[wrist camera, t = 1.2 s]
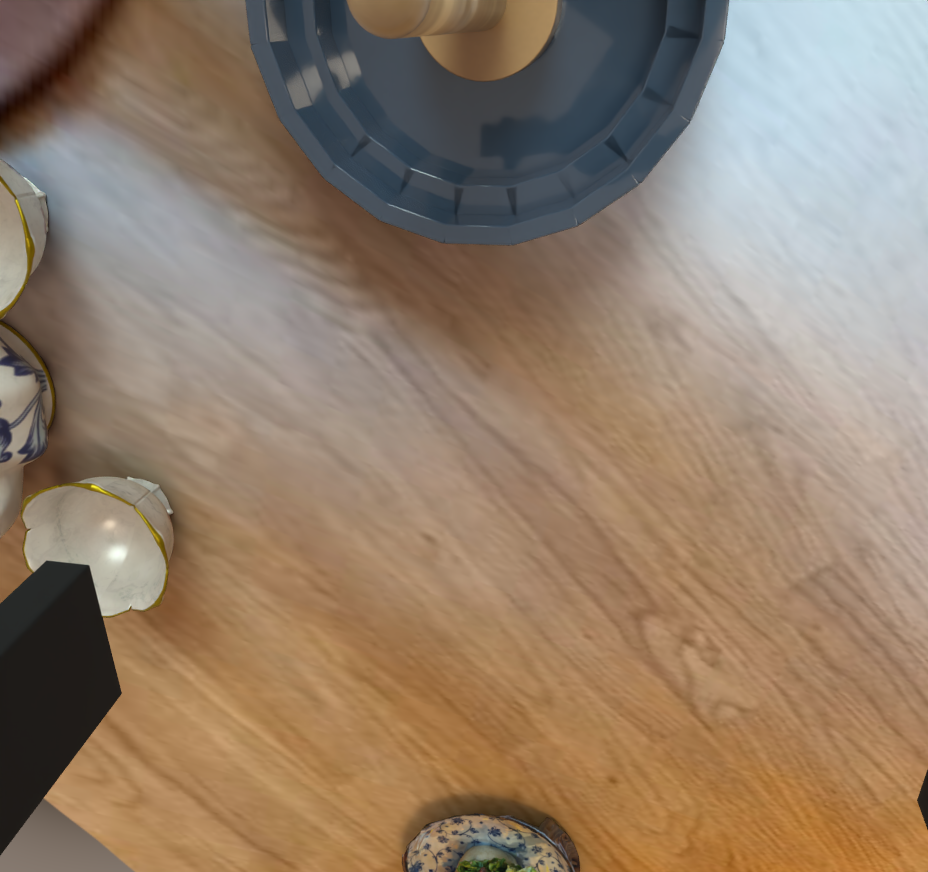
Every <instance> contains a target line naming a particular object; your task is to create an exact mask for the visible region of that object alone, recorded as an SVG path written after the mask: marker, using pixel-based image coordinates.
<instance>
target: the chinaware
mask: <svg viewBox="0 0 928 872" xmlns="http://www.w3.org/2000/svg"><path fill="white" fill-rule="evenodd" d="M45 198H46V195H45V193H44V192H41V191H40V190H39V189H38V188H37V187H36V186H35V185H34V184H33V183H31V182H30V181H29V180H27V179H26V178H24V177H23V176H21V175H20V174H19V173H18V172H17V171H16V170H15V169H14V168H12V167H11V166H10V165H9V164H7V163H6V162H4V161H3V160H1V159H0V320H1V319H2V318H4V317H5V316H6V314H7V312H8V311H9V310H10V309H11V308H12V307H13V306H14V305H15V303H16V302H17V300H18V299H19V297H20V295H21V294H22V292H23V290H24V288H25V285H26V284H27V282H28V280H29V277H30V275H31V274H32V273H33V272H34V270H35V269H36V268H37V266H38V265H39V263H40V261H41V258H42V255H43V252H44V248H45V244H46V232H48V230H49V229H48V226H47V224H48V211H47V205H46V201H45ZM55 405H56V401H55V391H54V387H53V383H52V380H51V377H50V374H49V372H48V370H47V368H46V366H45V364H44V362H43V361H42V359H41V358H40V356H39V355H38V353H37V352H36V351H35V349H34V348H33V347H32V346H31V345H30V343H29V342H28V341H27V340H26V339H25V338H24V337H22V336H21V335H20V334H19V333H18V332H17V331H15V330H14V329H13V328H11V327H10V326H8V325H7V324H5V323H3V322H2V321H0V538H1V537H2V536H3V535H4V534H5V533H6V532H7V531H8V530H9V529H10V527H11V526H12V525H13V523H14V522H15V520H16V518H17V516H18V514H19V511H20V508H21V502H22V493H23V473H24V465H26V464H28V463H30V462H32V461H34V460H36V459H37V458H39V457H40V456H42V455H43V454H44V452H45V451H46V449H47V446H48V429H49V428H50V426H51V424H52V421H53V418H54V414H55ZM171 514H173V511H172V510H171V508H170V506H169V503H168V501H167V498H166V497H165V495H164V494H163V492H162V491H161V489H160V486H159V485H158V484H153V483H150V482H148V481H145V480H142V479H135V478H131V477H127V479H124V478H119V477H94V478H89V479H85V480H82V481H80V482H73V483H66V484H61V485H56V486H53V487H50V488H46V489H43V490H40V491H38V492H36V493H34V494H33V495H29V496H27V497H26V498H25V499H24V501H23V505H22V510H21V519H22V521H23V523H24V525H25V528H27V529H29V528H30V529H29V530H27V531H26V532H25V538H24V542H23V548H22V550H23V555H24V558H25V561H26V566H27V568H28V569H29V570H30V571H31V572H32V573H34V572H35V571H36V570H37V569H38V568H39V567H40V566H41V565H42V564H43V563H44V562H45V561H46V560H47V561H56V562H66V563H75V564H84V565H89V566H90V570H91V574H92V578H93V582H94V586H95V590H96V594H97V597H98V601H99V605H100V609H101V613H102V617H106V618H109V617H114V616H117V615H120V614H122V613H125V612H128V611H130V609H131V607H132V610H136V611H143V612H145V611H148V610H150V609H152V608H155V607H158V606H159V605H160V604H161V603H162V601H163V599H164V594H165V591H166V587H167V580H168V569H169V565H168V563H169V561H170V557H171V554H172V550H173V545H174V534H173V527H172V523H171V520H170V517H169V516H170V515H171Z"/></svg>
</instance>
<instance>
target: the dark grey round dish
mask: <svg viewBox="0 0 928 872" xmlns="http://www.w3.org/2000/svg"><path fill="white" fill-rule="evenodd" d="M245 1H246V10H247V18H248V27H249V36H250V43H251V49H252V51H253V54H254V56H255V59H256V62H257V64H258V67H259V69H260V72H261V74H262V77H263V79H264V82H265V84H266V87H267V90H268V92H269V95H270V97H271V100H272V102H273V105H274V107H275V110H276V112H277V115H278V117H279V119H280V121H281V122H282V124H283V125H284V126H285V128H286V129H287V130H288V132H289V133H290V134H291V136H292V137H293V138H294V140H295V141H296V142H297V144H298V145H299V146H300V148H301V149H302V150H303V152H304V153H305V154H306V156H307V157H308V158H309V160H310V161H311V162H312V164H313V165H314V166H315V168H316V169H317V170H318V172H319V173H320V174H321V176H322V177H323V178H324V179H325V180H326V181H327V182H329V183H330V184H331V185H333V186H334V187H335V188H337V189H338V190H339V191H341V192H342V193H343V194H345V195H346V196H347V197H349V198H350V199H351V200H353V201H354V202H355V203H357V204H358V205H359V206H361V207H362V208H363V209H365V210H366V211H367V212H369V213H370V214H371V215H373V216H374V217H375V218H377V219H378V220H381V221H382V222H384V223H387V224H390V225H393V226H396V227H398V228H401V229H404V230H407V231H410V232H412V233H415V234H418V235H421V236H424V237H426V238H429V239H432V240H435V241H438V242H440V243H446V244H473V245H507V246H510V245H516V244H520V243H523V242H526V241H530V240H533V239H537V238H540V237H543V236H547V235H550V234H553V233H557V232H560V231H564V230H567V229H570V228H574V227H577V226H578V225H580V224H582V223H584V222H585V221H587V220H588V219H590V218H591V217H593V216H594V215H596V214H597V213H599V212H600V211H601V210H603V209H604V208H606V207H607V206H609V205H610V204H612V203H613V202H615V201H616V200H618V199H619V198H621V197H622V196H624V195H625V194H627V193H628V192H629V191H631V190H632V189H634V188H635V187H637V186H638V185H639V184H640V183H642V182H643V180H644V179H645V178H646V177H647V176H648V174H649V173H650V172H651V171H652V169H653V168H654V167H655V166H656V164H657V163H658V162H659V161H660V159H661V158H662V157H663V156H664V154H665V153H666V152H667V151H668V150H669V148H670V147H671V146H672V145H673V143H674V142H675V141H676V140H677V138H678V137H679V136H680V135H681V133H682V132H683V131H684V130H685V128H686V127H687V126H688V125H689V124H690V121H691V120H692V118H693V116H694V114H695V111H696V109H697V106H698V104H699V102H700V99H701V97H702V94H703V92H704V90H705V87H706V85H707V82H708V80H709V78H710V75H711V73H712V70H713V68H714V66H715V63H716V61H717V58H718V56H719V54H720V51H721V49H722V46H723V44H724V40H725V34H726V25H727V16H728V7H729V0H562V10H561V16H560V21H559V24H558V27H557V30H556V32H555V35H554V37H553V39H552V41H551V42H550V44H549V46H548V47H547V49H546V50H545V51H544V52H543V54H542V55H541V56H540V57H539V58H538V59H537V60H536V61H535V62H534V63H532V64H531V65H530V66H528V67H527V68H525V69H524V70H522V71H520V72H518V73H516V74H514V75H512V76H509V77H507V78H504V79H501V80H496V81H488V82H480V81H472V80H467V79H464V78H461V77H459V76H456V75H455V74H453V73H451V72H449V71H448V70H446V69H445V68H443V67H442V66H441V65H440V64H439V63H438V62H437V61H436V60H435V59H434V58H433V57H432V56H431V55H430V53H429V52H428V51H427V49H426V48H425V46H424V44H423V43H422V41H421V38H420V37H409V38H397V39H385V38H380V37H378V36H375V35H373V34H371V33H369V32H367V31H366V30H365V29H364V28H362V27H361V26H360V25H359V24H358V22H357V21H356V20H355V19H354V17H353V15H352V13H351V11H350V9H349V6H348V3H347V0H245Z"/></svg>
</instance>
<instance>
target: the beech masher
mask: <svg viewBox="0 0 928 872" xmlns="http://www.w3.org/2000/svg"><path fill="white" fill-rule="evenodd" d="M347 3H348V6H349V9H350V11H351V13H352V15H353V17H354V19H355V20H356V21H357V22H358V24H359V25H360V26H361V27H362V28H364V29H365V30H366V31H367V32H369V33H371V34H373V35H375V36H378V37H380V38H385V39H397V38H409V37H420V38H421V41H422V43H423V44H424V46H425V48H426V49H427V51H428V52H429V53H430V55H431V56H432V57H433V58H434V59H435V60H436V61H437V62H438V63H439V64H440V65H441V66H442V67H443V68H445V69H446V70H448V71H449V72H451V73H453V74H455V75H456V76H459V77H461V78H464V79H467V80H472V81H480V82H488V81H496V80H501V79H504V78H507V77H509V76H512V75H514V74H516V73H518V72H520V71H522V70H524V69H525V68H527V67H528V66H530V65H531V64H532V63H534V62H535V61H536V60H537V59H538V58H539V57H540V56H541V55H542V54H543V52H544V51H545V50H546V49H547V47H548V46H549V44H550V42H551V41H552V39H553V37H554V35H555V32H556V30H557V27H558V24H559V21H560V16H561V10H562V0H347Z"/></svg>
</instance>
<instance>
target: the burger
mask: <svg viewBox="0 0 928 872" xmlns="http://www.w3.org/2000/svg"><path fill="white" fill-rule="evenodd" d="M402 865H403V871H404V872H580V864H579V856H578V854H577V851H576V848H575V846H574V844H573V842H572V841H571V839H570V838H569V836H568V835H567V833H566V832H563V831H562V830H560V829H559V826H558V825H557V824H556V823H555V822H554V821H553V820H552V819H550V818H548V817H547V818H546V819H545V821H543V823H542V824H541V825H540V827H537V826H533V825H531V824H529V823H526V822H525V821H523V820H519V819H517V818H515V817H514V816H508V815H507V816H494V815H491V816H489V815H484V814H467V815H458V816H453V817H450V818H448V819H445V820H441V821H437V822H432V823H429V824H427V825H426V826H425V827H424V828H423V829H422V830H421V831H420V832H419V834H418V835H417V836H416V837H415V838H414V839H413V840H412V841H411V842H410V843H409V844H408V846H407V850H406V852H405V854H403V855H402Z"/></svg>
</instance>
